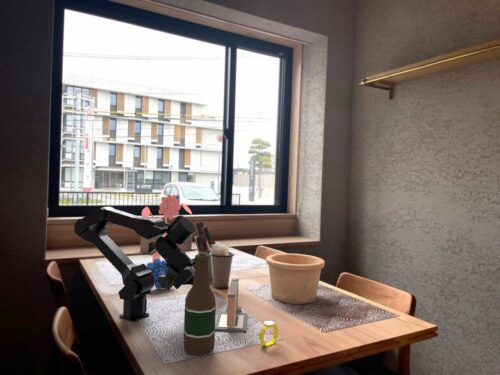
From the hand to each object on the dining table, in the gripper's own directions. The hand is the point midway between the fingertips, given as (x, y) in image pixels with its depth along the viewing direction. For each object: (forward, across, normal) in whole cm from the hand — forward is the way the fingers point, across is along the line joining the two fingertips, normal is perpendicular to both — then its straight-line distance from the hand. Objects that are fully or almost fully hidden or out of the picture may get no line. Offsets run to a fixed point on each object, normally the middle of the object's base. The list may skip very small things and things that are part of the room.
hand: (207, 292), depth 112 cm
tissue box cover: (-22, -110, -35) cm, 117 cm away
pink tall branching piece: (-14, -72, -28) cm, 78 cm away
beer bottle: (+7, +16, -7) cm, 19 cm away
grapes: (-9, -32, -23) cm, 41 cm away
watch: (+20, +11, +6) cm, 23 cm away
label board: (+12, -6, -2) cm, 13 cm away
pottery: (+27, -31, +13) cm, 43 cm away
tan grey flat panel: (+11, -5, -1) cm, 12 cm away
